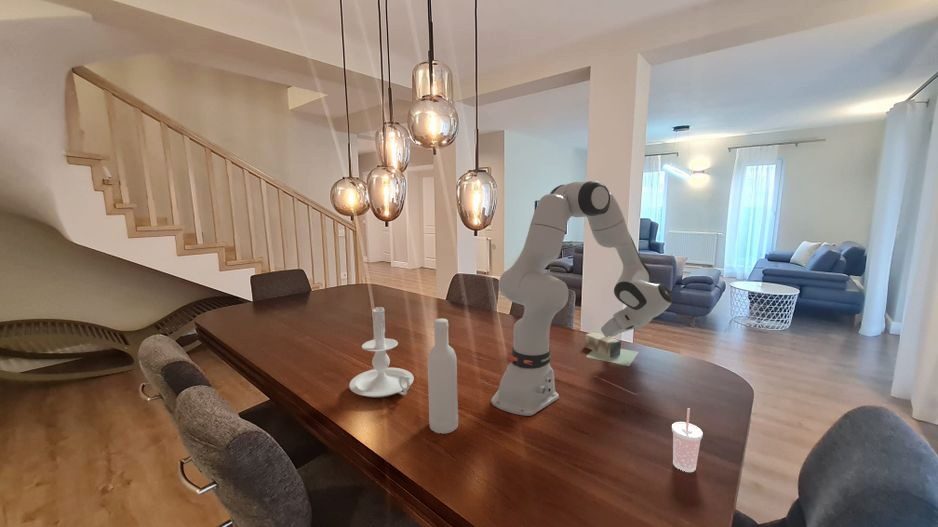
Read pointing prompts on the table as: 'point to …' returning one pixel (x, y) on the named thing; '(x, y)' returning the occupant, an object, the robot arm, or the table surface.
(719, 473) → the table surface
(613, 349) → the block
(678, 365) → the table surface
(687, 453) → the beverage cup
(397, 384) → the candlestick
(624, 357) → the mat
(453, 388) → the bottle
